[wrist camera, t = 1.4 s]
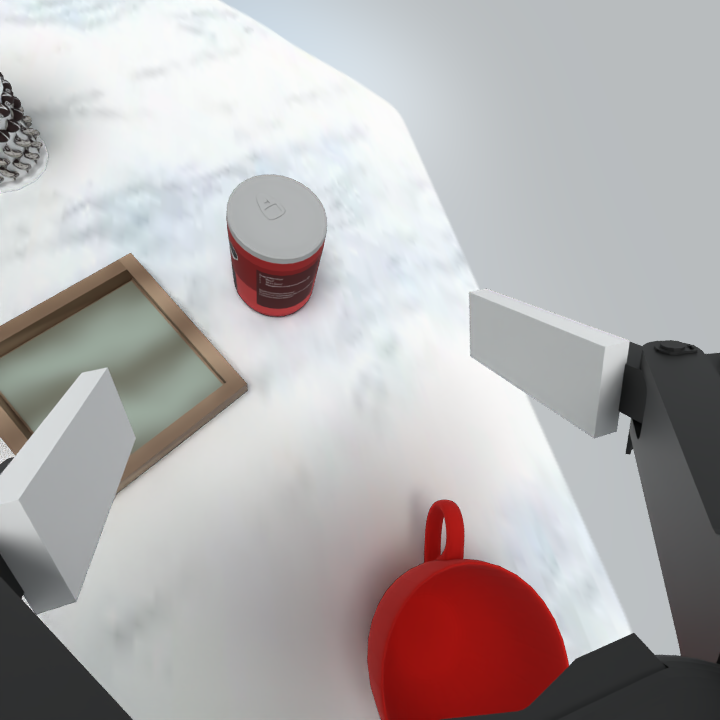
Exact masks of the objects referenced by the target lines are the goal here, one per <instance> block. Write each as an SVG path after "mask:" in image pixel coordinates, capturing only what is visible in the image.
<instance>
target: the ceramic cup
mask: <svg viewBox="0 0 720 720" xmlns="http://www.w3.org/2000/svg"><path fill="white" fill-rule="evenodd" d="M443 518H445V524H446V546H445V549H444V551H443V553H442V555H441V531H442V523H443ZM463 557H464V523H463V518H462V514H461V511H460V509H459V507H458V506H457V505H456V504H455V503H454V502H453V501H450V500H439V501H436V502H435V503H434V504H433V505H432V506H431V508H430V510H429V513H428V516H427V521H426V529H425V546H424V563H423V564H421V565H418V566H416V567H414V568H412V569H410V570H408V571H407V572H406V573H404V574H403V575H402V576H400V577H399V578H397V579H396V581H395V582H394V583H393V584H392V585H391V586H390V587H389V588H388V589H387V591H386V592H385V594H384V596H383V597H382V599H381V601H380V602H379V604H378V606H377V609H376V611H375V614H374V617H373V619H372V623H371V628H370V633H369V637H368V655H367V662H368V670H369V678H370V685H371V689H372V693H373V696H374V699H375V703H376V706H377V709H378V712H379V716H380V718H381V720H440V719H448V718H458V717H467V716H477V715H486V714H496V713H505V712H515V711H520V710H523V709H525V708H527V707H528V706H529V705H530V704H531V703H532V702H533V701H534V700H535V699H536V698H537V697H538V696H539V695H540V694H541V693H542V692H543V691H544V690H545V689H546V688H547V687H548V686H549V685H550V684H551V683H552V682H553V681H554V680H555V679H556V678H557V677H558V676H559V675H560V674H561V673H562V672H563V671H564V670H565V669H566V668H567V667H568V666H569V663H568V658H567V654H566V650H565V646H564V642H563V638H562V636H561V634H560V631H559V629H558V626H557V624H556V621H555V619H554V617H553V616H552V614H551V612H550V611H549V609H548V607H547V606H546V604H545V602H544V601H543V600H542V599H541V597H540V596H539V595H538V594H537V593H536V592H535V590H534V589H533V588H532V587H531V586H530V585H529V584H527V583H526V582H525V581H524V580H522V579H521V578H520V577H519V576H518V575H516V574H514V573H512V572H510V571H508V570H506V569H504V568H503V567H501V566H498V565H494V564H490V563H487V562H483V561H479V560H471V559H463Z"/></svg>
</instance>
